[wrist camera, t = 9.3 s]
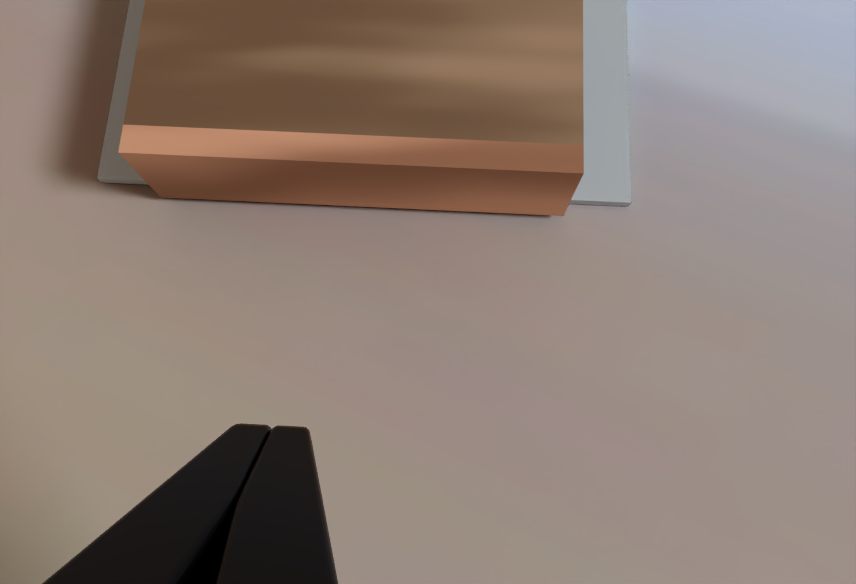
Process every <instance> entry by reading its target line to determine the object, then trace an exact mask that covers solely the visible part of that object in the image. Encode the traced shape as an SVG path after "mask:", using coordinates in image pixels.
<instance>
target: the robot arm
mask: <svg viewBox="0 0 856 584" xmlns="http://www.w3.org/2000/svg"><path fill="white" fill-rule="evenodd" d="M42 584H338V580H337V575H336V570H335V564H334V559H333V553H332V548H331V543H330V537H329V532H328V527H327V521H326V516H325V511H324V505H323V500H322V495H321V489H320V484H319V478H318V473H317V468H316V462H315V457H314V452H313V446H312V441H311V436H310V432H309V430H308V429H307V428H306V427H297V426H276V427H274V428H272V429H271V428H270V427H269V426H268V425H259V424H236V425H234V426H232V427H230V428H229V429H228V430H227V431H226V432H224V433H223V434H222V435H221V436H219V437H218V438H217V439H216V440H215V441H213V442H212V443H211V444H210V445H209V446H207V447H206V448H205V449H204V450H203V451H201V452H200V453H199V454H198V455H197V456H195V457H194V458H193V459H192V460H191V461H189V462H188V463H187V464H186V465H185V466H183V467H182V468H181V469H180V470H179V471H177V472H176V473H175V474H174V475H173V476H171V477H170V478H169V479H168V480H167V481H165V482H164V483H163V484H162V485H160V486H159V487H158V488H157V489H156V490H154V491H153V492H152V493H151V494H150V495H148V496H147V497H146V498H145V499H144V500H142V501H141V502H140V503H139V504H138V505H136V506H135V507H134V508H133V509H132V510H130V511H129V512H128V513H127V514H126V515H124V516H123V517H122V518H121V519H120V520H118V521H117V522H116V523H115V524H114V525H112V526H111V527H110V528H109V529H108V530H106V531H105V532H104V533H103V534H101V535H100V536H99V537H98V538H97V539H95V540H94V541H93V542H92V543H91V544H89V545H88V546H87V547H86V548H85V549H83V550H82V551H81V552H80V553H79V554H77V555H76V556H75V557H74V558H73V559H71V560H70V561H69V562H68V563H67V564H65V565H64V566H63V567H62V568H61V569H59V570H58V571H57V572H56V573H55V574H53V575H52V576H51V577H50V578H48V579H47V580H46V581H45V582H44V583H42Z"/></svg>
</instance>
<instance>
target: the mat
mask: <svg viewBox="0 0 856 584" xmlns="http://www.w3.org/2000/svg"><path fill="white" fill-rule="evenodd" d="M144 4H145V0H130V1H129V7H128V12H127V18H126V23H125V29H124V34H123V39H122V45H121V50H120V56H119V61H118V67H117V72H116V77H115V83H114V88H113V94H112V99H111V105H110V110H109V116H108V121H107V126H106V132H105V137H104V143H103V148H102V154H101V159H100V164H99V170H98V175H97V179H98V180H99V181H100V182H105V183H126V184H147V183H146V182H145V180H144V179H143V178H142V177H141V176H140V175H139V174H138V173H137V172H136V171H135V170H134V169H133V168H132V167H131V166H130V165H129V163H128V162H127V161H126V160H125V159H124V158H123V157H122V156H121V155H120V154H119V153H118V151H119V145H120V139H121V134H122V128H123V123H124V117H125V111H126V106H127V100H128V94H129V89H130V83H131V77H132V72H133V66H134V61H135V55H136V49H137V44H138V38H139V32H140V27H141V21H142V15H143V10H144ZM583 116H584V174H583V176H582V178H581V180H580V182H579V184H578V186H577V188H576V191H575V193H574V195H573V197H572V199H571V201H570V203H569V204H586V205H608V206H629V205H630V203H631V181H630V136H629V90H628V45H627V0H583Z"/></svg>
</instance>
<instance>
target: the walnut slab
mask: <svg viewBox="0 0 856 584" xmlns="http://www.w3.org/2000/svg"><path fill="white" fill-rule="evenodd" d="M118 153H119V154H120V155H121V156H122V157H123V158H124V159H125V160H126V161H127V162H128V163H129V165H130V166H131V167H132V168H133V169H134V170H135V171H136V172H137V173H138V174H139V175H140V176H141V177H142V178H143V179H144V180H145V182H146V183H147V184H148V185H149V186H150V187H151V188H152V189H153V190H154V191H155V192H156V193H157V194H158V195H159V196H160V197H165V198H187V199H208V200H230V201H252V202H274V203H295V204H317V205H339V206H361V207H382V208H404V209H426V210H447V211H469V212H491V213H513V214H534V215H556V216H564V213H565V211H566V209H567V207H568V205H569V203H570V201H571V199H572V197H573V195H574V193H575V191H576V188H577V186H578V184H579V182H580V180H581V178H582V176H583V174H584V116H583V0H145V4H144V10H143V15H142V21H141V27H140V32H139V38H138V44H137V49H136V55H135V61H134V66H133V72H132V77H131V83H130V89H129V94H128V100H127V106H126V111H125V117H124V123H123V128H122V134H121V139H120V145H119V151H118Z"/></svg>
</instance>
